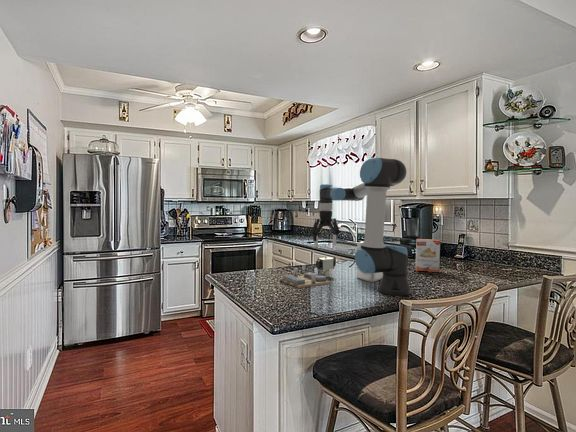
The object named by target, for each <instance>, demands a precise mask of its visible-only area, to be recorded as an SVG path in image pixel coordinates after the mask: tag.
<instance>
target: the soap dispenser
mask: <svg viewBox="0 0 576 432" xmlns="http://www.w3.org/2000/svg"><path fill="white" fill-rule="evenodd" d="M362 242H364V240H363V241H358V242H357V243H356V251H357V250H359V249H361V243H362ZM382 276H383V272H380V273H373V274H370V273H363V272H361V271H360V270H359V269H358V267H357V266H356V277H357V279H359V280H363V281H365V282H369V283H370V282H372V283H374V282H378V281H381V279H382Z"/></svg>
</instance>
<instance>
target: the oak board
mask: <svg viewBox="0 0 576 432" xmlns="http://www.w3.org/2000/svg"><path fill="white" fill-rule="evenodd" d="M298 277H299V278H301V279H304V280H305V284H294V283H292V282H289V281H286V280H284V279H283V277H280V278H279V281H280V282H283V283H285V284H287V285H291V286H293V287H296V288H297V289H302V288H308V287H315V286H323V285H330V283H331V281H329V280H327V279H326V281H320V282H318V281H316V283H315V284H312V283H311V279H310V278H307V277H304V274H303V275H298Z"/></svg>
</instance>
